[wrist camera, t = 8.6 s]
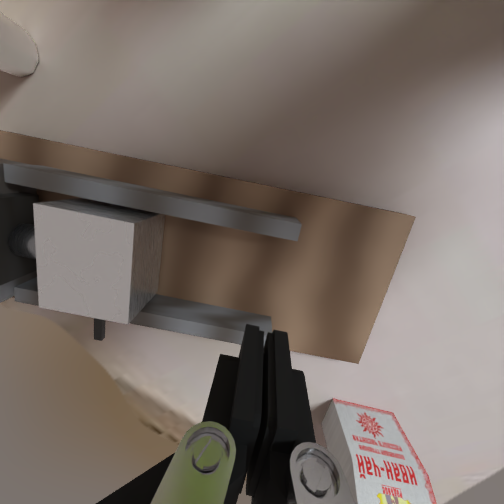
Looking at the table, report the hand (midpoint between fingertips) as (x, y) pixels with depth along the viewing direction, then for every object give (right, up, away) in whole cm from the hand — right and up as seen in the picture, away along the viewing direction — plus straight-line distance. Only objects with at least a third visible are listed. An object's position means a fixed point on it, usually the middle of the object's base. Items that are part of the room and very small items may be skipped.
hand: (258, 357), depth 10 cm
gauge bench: (-5, +4, +12) cm, 14 cm away
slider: (-12, +4, +11) cm, 17 cm away
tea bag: (+11, -14, +17) cm, 25 cm away
